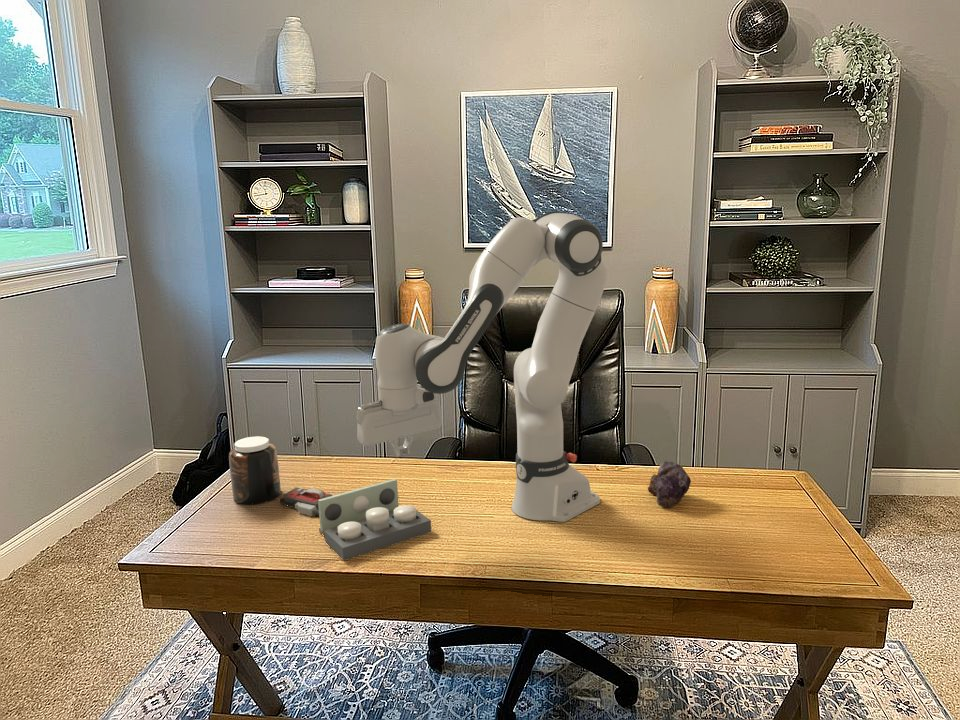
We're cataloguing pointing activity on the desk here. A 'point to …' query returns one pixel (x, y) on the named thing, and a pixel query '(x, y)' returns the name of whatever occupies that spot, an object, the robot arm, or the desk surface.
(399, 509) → the button
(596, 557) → the desk surface
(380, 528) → the button middle
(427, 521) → the button board
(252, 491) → the jar
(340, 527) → the button
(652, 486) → the rock
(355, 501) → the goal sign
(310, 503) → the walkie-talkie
